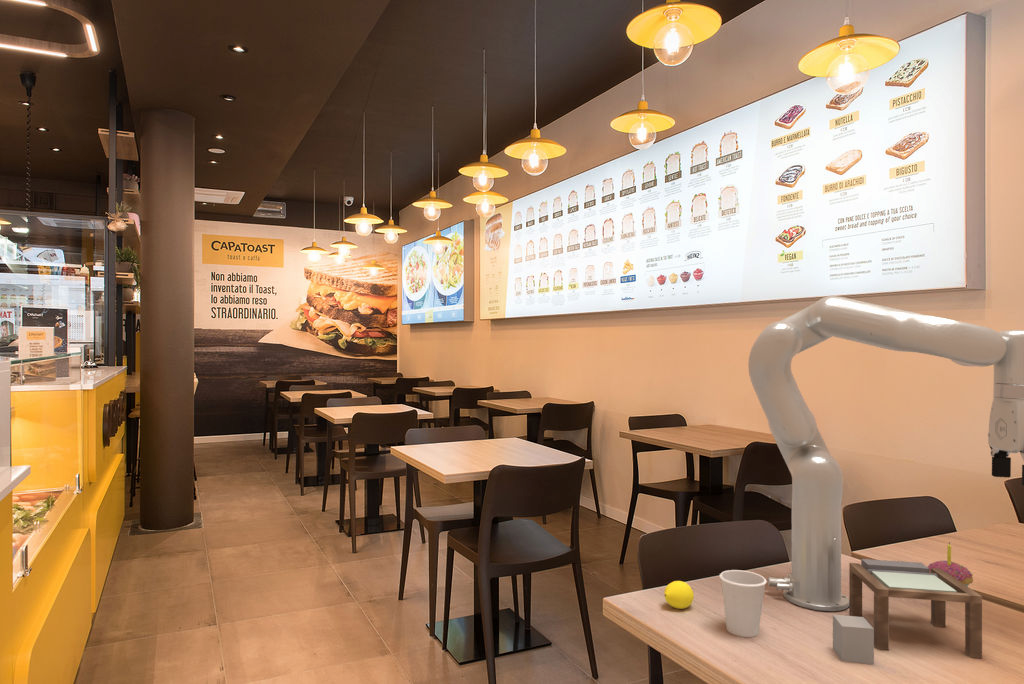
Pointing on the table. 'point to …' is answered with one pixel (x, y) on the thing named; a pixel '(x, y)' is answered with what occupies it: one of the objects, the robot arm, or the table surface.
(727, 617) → the dixie cup
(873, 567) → the trapdoor
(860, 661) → the stone
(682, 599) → the lemon
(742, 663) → the table surface
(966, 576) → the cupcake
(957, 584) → the stand
